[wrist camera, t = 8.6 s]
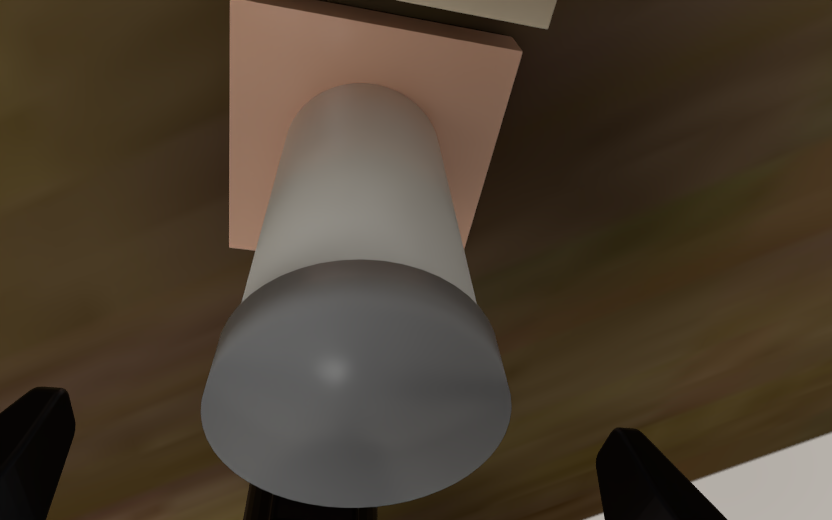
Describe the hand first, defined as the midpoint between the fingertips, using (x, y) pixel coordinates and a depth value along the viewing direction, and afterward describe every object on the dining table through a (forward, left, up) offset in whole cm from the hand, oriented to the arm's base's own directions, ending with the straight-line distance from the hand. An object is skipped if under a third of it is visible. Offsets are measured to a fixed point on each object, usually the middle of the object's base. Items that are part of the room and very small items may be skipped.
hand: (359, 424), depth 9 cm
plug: (0, 0, -10) cm, 10 cm away
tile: (0, 0, -12) cm, 12 cm away
